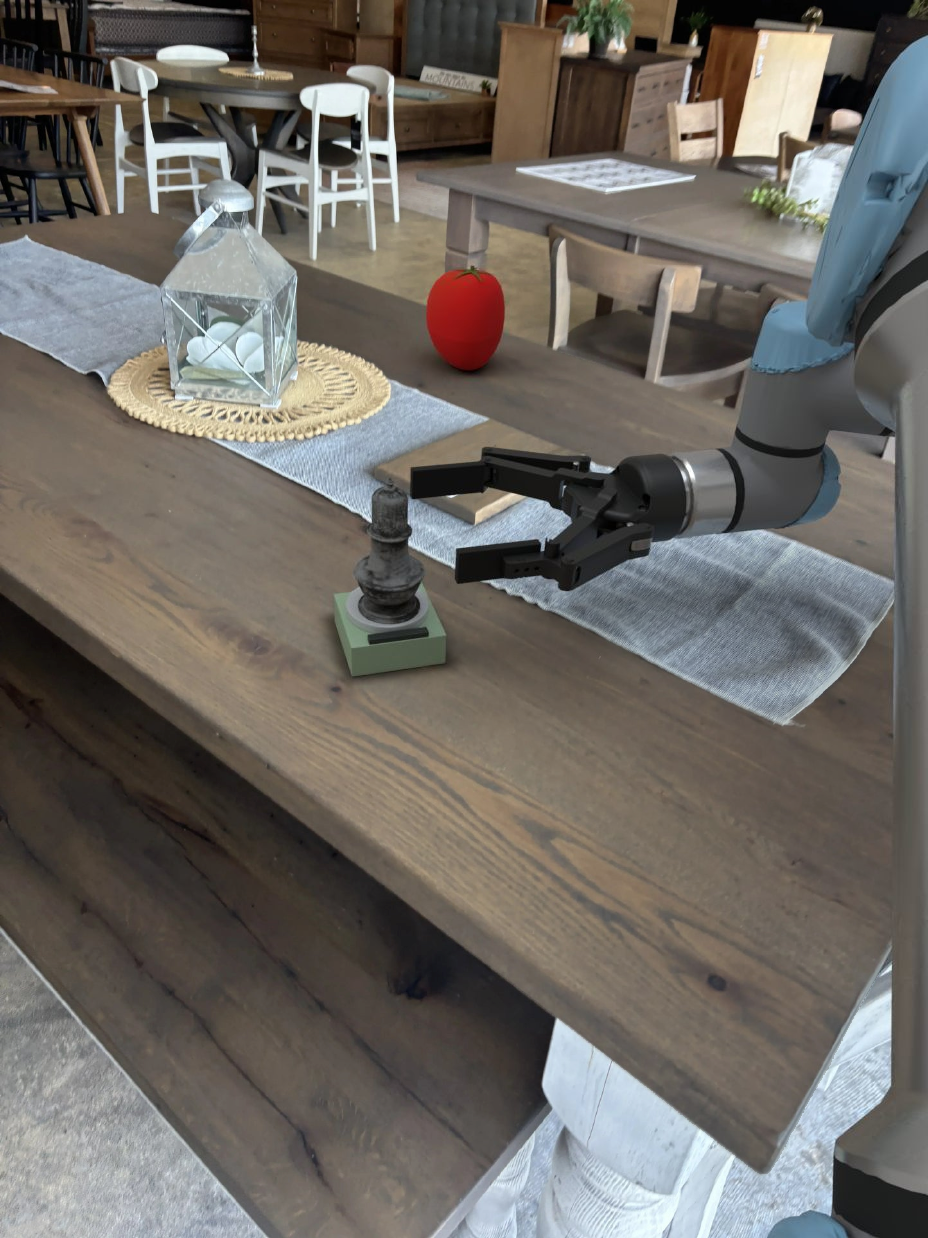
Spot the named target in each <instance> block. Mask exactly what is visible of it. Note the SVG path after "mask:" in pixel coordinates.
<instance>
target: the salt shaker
mask: <svg viewBox="0 0 928 1238" xmlns="http://www.w3.org/2000/svg"><path fill="white" fill-rule="evenodd" d="M394 484H395V481H394V479H393V478H391V477H388V479H387V480H386V481H385V485H382V486H381V487H378V488H377V489H376V490H374V491H373V493H372V496H371V523H370V524H368V526H367V528H366V533H367V535H368V536H369V537H370V553H369V554H368V555H366V556H365V555H364V556H363V557H362V558H360V559H359V560H358V561H357V562H356V563H355V565H354V566H353V571H352V572H353V576H354V578H355V579H356V582H357V585H358V587H360V589H361V591H362V593H363V594H364V595H363V596H362V597H361V598H360V600H359V601H358V609H359V612H360V613H361V614H362V616H363V617H365V618H366V619H368V620H370V621H373V622H376V623H381V624H399V623H403V622H406V621H409V620H410V619H412V618H414V617H415V616H416V615H417V614H418V613H419V611H420V601H419V599H418V598H417V597H416V596H415V594H416V592H417V590H418V588H419V586H420V584H421V583H422V581H423V580H424V578H425V576H426V568H425V566H424V564H423V563H422V562H421V561H420V560H419V559H418V558H416V557H415V556H412V555H411V554H410V553H409V538H410V537H411V536H412V535H413V527H412V526H411V525H410V524H409V497H408V494H407V493H406V492H405V491H404V490H403V489H402V488H401V487H398V486H395V485H394Z"/></svg>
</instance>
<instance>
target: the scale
mask: <svg viewBox="0 0 928 1238" xmlns="http://www.w3.org/2000/svg"><path fill="white" fill-rule="evenodd" d="M363 595H364V594H363V593H362V591H361V589H360V587H359V586H357V587H356V588H355V589H353V590H352V591H347V592H338V593H333V609H334V610H333V613H334V624H335V627H336V630H337V633H338V637H339V639H340V643H341V647H342V649H343V653H344V655H345V659H346V662H347V665H348V669H349V671H350V675H351V677H359V676H366V675H367V676H368V675H374V674H381V673H386V672H395V671H401V670H409V669H415V668H420V667H421V668H422V667H429V666H435V665H442V664H446V654H447V636H448V635H447V633H446V631H445V629H444V627H443V624H442V622H441V621H440V618H439V615H438V614H437V612H436V609H435V607H434V606H433V603H432V601H431V599H430V597H429V594H428V593H427V590H426V589H425V586H424V584H423V583H422V582H421V584H420V586H419V588H418V590H417V592H416V594H415V596H416V597H417V598H418V599H419V601H420V611H419V613H418V614H417V615H416V616H415V617H414V618H412V619H410V620H409V621H406V622H403V623H399V624H381V623H376V622H373V621H370V620H368V619H366V618H365V617H363V616H362V614H361V613H360V612H359V609H358V601H359V600H360V598H361V597H362V596H363Z"/></svg>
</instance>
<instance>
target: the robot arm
mask: <svg viewBox="0 0 928 1238" xmlns="http://www.w3.org/2000/svg"><path fill="white" fill-rule="evenodd" d="M810 281H811V282H810V286H809V291H808V297H807V301H805V300H799V301H798V300H794V301H786V302H782V303H780V304H777V305H775V306H774V307H772V308H771V309H769V311H768V312H767V313H766V315H765V317H764V319H763V323H762V325H761V328H760V331H759V335H758V338H757V341H756V344H755V348H754V350H753V354H752V355H751V357H750V361H749V370H748V371H749V372H748V375H747V380H746V384H745V389H744V393H743V397H742V401H741V406H740V410H739V415H738V419H737V420H738V421H737V422H736V426H735V430H734V433H733V436H732V437H733V438H732V442H731V445H730V446H725V447H719V448H705V449H694V450H682V451H673V452H668V453H667V454H665V453H654V454H653V453H652V454H641V455H633V456H632V455H631V456H627V457H625V458H623V459H622V460H621V461H620V462H619V463H618V465H616V467H615V468H614V469H613V470H612V471H610V472H609V473H608V472H597V471H592V469H591V464H592V458H591V456H588V455H585V454H580V455H578V454H577V455H563V454H562V455H561V454H553V453H552V454H551V453H545V452H544V453H543V452H535V451H529V450H528V451H527V450H521V449H520V450H519V449H518V450H517V449H510V448H503V447H495V446H483V447H482V448H481V455H480V459H479V460H476V461H465V462H455V463H454V462H453V463H444V464H433V465H421V466H419V465H418V466H410V478H409V496H410V498H411V500H419V499H429V498H439V497H440V498H441V497H451V496H460V495H461V496H462V495H470V494H471V495H472V494H484V493H486V491H487V489H489V488H490V489H494V490H497V491H502V492H506V493H509V494H514V495H518V496H522V497H526V498H530V499H534V500H538V501H542V502H547V503H548V504H549V506H550V507H551V509H554V510H558V511H561V512H563V513H564V515H566V516H568V517H569V519H570V521H571V523H570V524H569V525H568V526H567V527H565V528H564V529H563V530H562V531H561V532H560V533H558V534H557V535H556V536H555V537H554V538H553V539H552V538H549V537H545V539H544V546H543V547H544V548H543V550H542V543H541V540H539V538H535V539H525V540H517V541H509V542H500V543H491V544H481V545H473V546H464V547H456V548H455V563H454V581H455V583H456V584H457V585H461V584H470V583H471V584H472V583H477V582H478V583H479V582H486V581H494V580H501V579H505V580H516V579H517V580H518V579H523V578H524V579H526V578H532V577H533V578H534V577H542V578H543V579H545V580H549V581H550V580H554V581H555V582H557V589H558V590H560V591H562V592H565V593H567V592H572V591H573V590H575V589H577V588H579V587H581V586H582V585H583V586H584V585H585V584H587V583H589V582H590V581H592V580H594V579H596V578H598V577H599V576H601V575H603V574H605V573H607V572H609V571H610V570H613V569H614V568H616V567H618V566H620V565H622V564H624V563H625V562H627V561H631V560H635V559H641V558H645V557H648V556H649V555H650V551H651V546H652V543H659V542H667V541H671V540H672V539H678V540H680V539H691V538H695V537H704V536H710V535H711V536H712V535H721V534H734V533H743V532H752V531H761V530H769V529H770V530H771V529H774V530H780V529H781V530H783V529H786V528H790V527H795V526H799V525H804V524H805V525H806V524H809V523H812V522H817V521H819V520H821V519H823V518H824V517H827V515H828V514H829V513H830V512H832V510H833V509H834V507H835V506H836V504H837V502H838V499H839V498H840V493H841V490H842V485H841V483H840V482H839V481H840V480H839V476H840V475H841V474H842V471H841V470H842V468H841V464H840V462H839V459H838V457H837V455H836V453H835V452H834V450H833V449H832V448H831V447H830V446H829V445H827V444H826V442H827V438H828V436H829V433H830V432H831V431H833V432H834V431H835V432H842V433H843V432H845V433H851V434H852V433H853V434H861V435H869V436H879V437H884V438H885V437H891V438H894V520H893V521H894V527H893V528H894V529H893V531H894V533H893V534H894V535H893V537H894V538H893V544H894V546H893V549H894V550H893V562H894V563H893V677H892V678H893V681H892V682H893V685H892V686H893V687H892V688H893V689H892V691H893V694H892V695H893V697H892V698H893V699H892V700H893V701H892V705H893V706H892V712H893V713H892V837H891V839H892V840H891V841H892V843H891V845H892V847H891V849H892V851H891V852H892V853H891V854H892V855H891V856H892V857H891V858H892V861H891V863H892V865H891V867H892V869H891V1002H890V1003H891V1006H890V1007H891V1009H890V1010H891V1012H890V1013H891V1014H890V1015H891V1016H890V1017H891V1022H890V1026H891V1027H890V1051H891V1052H890V1086H889V1088H888V1089H887V1090H886V1092H885V1094H884V1096H883V1097H882V1099H881V1100H880V1102H879V1103H878V1104H876V1105H875V1106H874V1107H873V1108H872V1109H870V1110H869V1111H868V1112H867V1113H866V1114H865V1115H864V1116H862V1117H861V1118H860V1119H858V1120H857V1121H856V1122H855V1123H854V1124H853V1125H851V1126H850V1127H848V1129H846V1130H845V1131H844V1132H843V1133H841V1134H840V1135H839V1136H838V1137H836V1139H835V1142H834V1147H833V1153H832V1154H833V1156H832V1189H831V1191H832V1195H831V1210H830V1215H829V1214H827V1213H824V1212H820V1211H817V1210H813V1209H809V1210H806V1211H804V1212H801V1213H800V1214H799V1215H791V1216H787V1217H784V1218H782V1219H780V1220H779V1221H777V1222H776V1223H774V1225H773V1226H772V1228H771V1229H770V1231H769V1232H768V1234H767V1236H766V1238H928V35H925V36H923V37H921V38H919V39H917V40H915V41H914V42H912V43H911V44H910V45H908V46H907V47H906V48H905V49H904V50H903V51H902V52H900V54H899V55H898V56H897V58H896V59H895V60H894V61H893V62H892V63H891V65H890V66H889V68H888V69H887V71H886V73H884V76H883V77H882V79H881V81H880V83H879V85H878V87H877V89H876V92H875V94H874V96H873V97H872V99H871V102H870V104H869V107H868V108H867V111H866V114H865V116H864V118H863V121H862V124H861V126H860V128H859V131H858V133H857V137H856V139H855V141H854V144H853V147H852V149H851V152H850V155H849V158H848V161H847V163H846V166H845V169H844V172H843V174H842V177H841V180H840V183H839V186H838V190H837V192H836V195H835V198H834V201H833V205H832V207H831V210H830V214H829V217H828V221H827V223H826V227H825V230H824V233H823V236H822V240H821V244H820V248H819V251H818V254H817V259H816V263H815V265H814V270H813V274H812V278H811V280H810ZM548 539H549V540H548Z"/></svg>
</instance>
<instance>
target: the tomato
mask: <svg viewBox="0 0 928 1238" xmlns="http://www.w3.org/2000/svg"><path fill="white" fill-rule="evenodd" d="M478 268H479V267H478V266H477V267H475V265H473V264H472V265H471V264H470V269H468V268H460V269H459V268H452V269H451V270H450V271H446V272H445V273H442V274H441V276H440V277H439V278H438V279H436V280H435V281H434V283H433V285H432V287H431V288H430V290H429V294H428V297H427V300H426V310H425V318H426V319H425V320H426V321H425V322H426V327H427V332H428V334H429V339H430V340H431V342H432V345H433V347H434V348H435V350H436V352H437V353H438V354H439V356H440V357H442V359H443V360H444V361H445V362H446V363H447V364H448V365H450V366H452V367H454V368H457V369H459V370H460V371H474V370H477V369H479V368H482V367H484V366H485V365H486V364H487V363H488V362H489V361H490V360H491V359H492V357H493V355H494V354H495V352H496V351H497V350H498V346H499V345H500V342H501V339H502V335H503V332H504V326H505V319H506V318H505V317H506V305H505V295H504V292H503V288H502V285H501V283H500V282H499V280H498V279H497V277H496V276H495V273H494V274H493V273H490V272H488V271H486V270H481V269H478Z"/></svg>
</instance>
